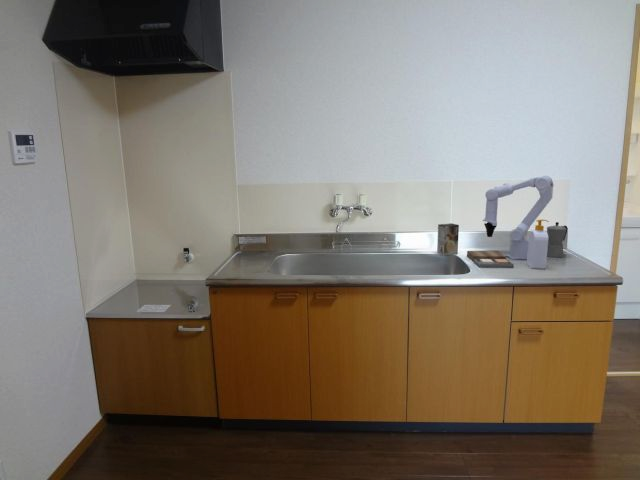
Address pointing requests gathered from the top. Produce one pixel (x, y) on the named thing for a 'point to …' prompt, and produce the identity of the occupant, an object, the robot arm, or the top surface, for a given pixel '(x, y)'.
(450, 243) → the coffee box
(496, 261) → the terracotta tile
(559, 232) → the coffeepot
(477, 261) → the box
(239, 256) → the top surface
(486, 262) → the cream tile
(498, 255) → the walnut plate
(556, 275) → the top surface
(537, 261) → the soap bottle
